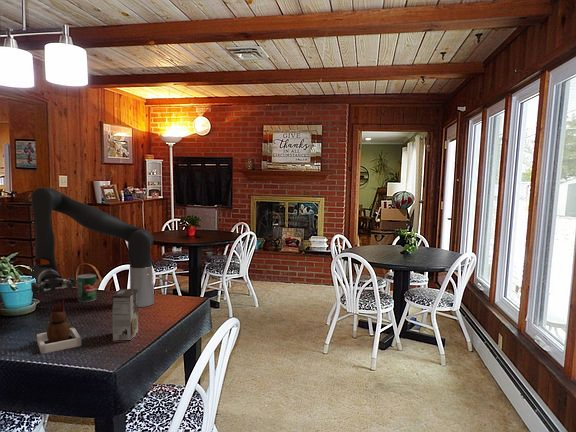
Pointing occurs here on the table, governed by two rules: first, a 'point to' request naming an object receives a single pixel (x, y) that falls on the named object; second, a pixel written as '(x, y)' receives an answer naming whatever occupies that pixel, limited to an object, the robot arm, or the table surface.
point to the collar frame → (58, 345)
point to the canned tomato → (86, 287)
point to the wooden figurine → (58, 324)
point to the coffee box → (125, 314)
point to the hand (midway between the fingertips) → (56, 288)
